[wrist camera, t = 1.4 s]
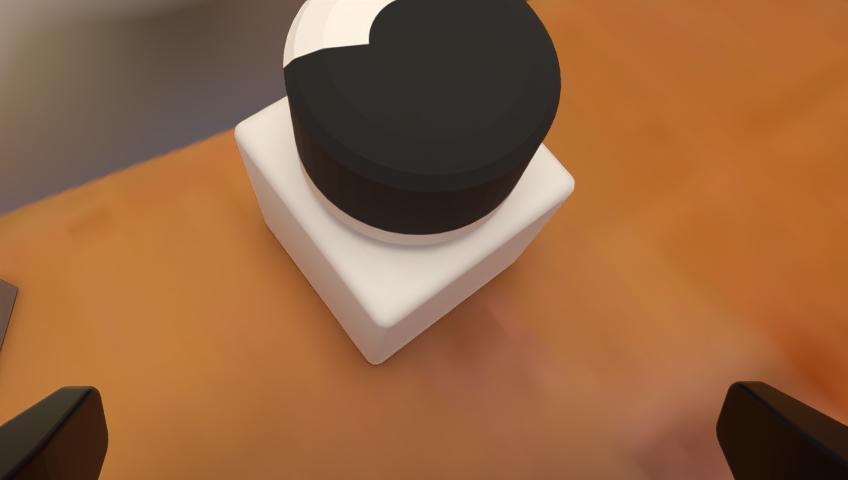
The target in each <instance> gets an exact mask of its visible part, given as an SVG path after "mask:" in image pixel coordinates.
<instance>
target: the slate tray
mask: <svg viewBox="0 0 848 480" xmlns="http://www.w3.org/2000/svg"><path fill="white" fill-rule="evenodd" d="M17 290H18V288H16V287H14V286H13V285H11V284H9V283H7V282H5V281H3V280H1V279H0V349H1V346H2V342H3V339H4V336H5V332H6V329H7V325H8V322H9V318H10V315H11V311H12V308H13V304H14V301H15V297H16V294H17Z"/></svg>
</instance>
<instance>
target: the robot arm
mask: <svg viewBox="0 0 848 480" xmlns="http://www.w3.org/2000/svg"><path fill="white" fill-rule="evenodd" d="M716 433H717V438H718V441H719V444H720V446H721V449H722V451H723V453H724V456H725V458H726V460H727V463H728V465H729V467H730V470H731V472H732V474H733V477H734V479H735V480H848V426H846V425H844V424H842V423H840V422H838V421H836V420H834V419H833V418H831V417H829V416H827V415H825V414H823V413H821V412H819V411H817V410H815V409H814V408H812V407H810V406H808V405H806V404H804V403H802V402H800V401H798V400H796V399H794V398H793V397H791V396H789V395H787V394H785V393H783V392H781V391H779V390H777V389H775V388H774V387H772V386H770V385H768V384H766V383H764V382H760V381H738V382H735V383H733V384H732V385H731V386H730V387H729V389H728V392H727V395H726V398H725V401H724V403H723V406H722V409H721V412H720V415H719V418H718V421H717V426H716ZM107 447H108V430H107V425H106V420H105V415H104V410H103V405H102V400H101V396H100V393H99V391H98V389H96V388H95V387H92V386H68V387H63V388H60V389H59V390H57V391H55V392H54V393H52V394H50V395H49V396H47V397H46V398H44V399H43V400H41V401H39V402H38V403H36V404H35V405H33V406H32V407H30V408H28V409H27V410H25V411H24V412H22V413H20V414H19V415H17V416H16V417H14V418H13V419H11V420H9V421H8V422H6V423H5V424H3V425H2V426H0V480H98V478H99V475H100V472H101V468H102V465H103V462H104V459H105V456H106V452H107Z"/></svg>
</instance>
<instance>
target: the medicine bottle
mask: <svg viewBox="0 0 848 480" xmlns="http://www.w3.org/2000/svg"><path fill="white" fill-rule="evenodd" d="M283 69H284V76H285V85H286V91H287V96H286V97H284V98H283V99H281V100H279V101H277V102H276V103H274V104H272V105H270V106H268V107H267V108H265V109H263V110H261V111H260V112H258V113H256V114H254V115H253V116H251V117H249V118H247V119H246V120H244V121H242V122H240V123H239V124H238V125H237V126H236V129H235V133H234V136H235V139H236V142H237V145H238V147H239V150H240V153H241V156H242V159H243V161H244V164H245V167H246V170H247V173H248V175H249V178H250V181H251V184H252V187H253V189H254V192H255V195H256V198H257V201H258V203H259V206H260V209H261V212H262V215H263V218H264V220H265V223H266V225H267V226H268V228H269V229H270V230H271V232H272V233H273V234H274V236H275V237H276V238H277V240H278V241H279V242H280V244H281V245H282V247H283V248H284V249H285V251H286V252H287V253H288V255H289V256H290V257H291V259H292V260H293V261H294V263H295V264H296V265H297V267H298V268H299V269H300V271H301V272H302V274H303V275H304V276H305V278H306V279H307V280H308V282H309V283H310V284H311V286H312V287H313V288H314V290H315V291H316V292H317V294H318V295H319V297H320V298H321V299H322V301H323V302H324V303H325V305H326V306H327V307H328V309H329V310H330V311H331V313H332V314H333V315H334V317H335V318H336V319H337V321H338V322H339V324H340V325H341V326H342V328H343V329H344V330H345V332H346V333H347V334H348V336H349V337H350V338H351V340H352V341H353V342H354V344H355V345H356V347H357V348H358V349H359V351H360V352H361V353H362V355H363V356H364V357H365V359H366V360H367V361H368V362H369V363H370V364H374V365H378V364H380V363H382V362H384V361H385V360H386V359H388V358H389V357H390V356H392V355H393V354H394V353H395V352H397V351H398V350H399V349H401V348H402V347H403V346H405V345H406V344H407V343H409V342H410V341H411V340H413V339H414V338H415V337H417V336H418V335H419V334H421V333H422V332H423V331H424V330H426V329H427V328H428V327H430V326H431V325H432V324H434V323H435V322H436V321H438V320H439V319H440V318H442V317H443V316H444V315H446V314H447V313H448V312H449V311H451V310H452V309H453V308H455V307H456V306H457V305H459V304H460V303H461V302H463V301H464V300H465V299H467V298H468V297H469V296H471V295H472V294H473V293H475V292H476V291H477V290H478V289H480V288H481V287H482V286H484V285H485V284H486V283H488V282H489V281H490V280H492V279H493V278H494V277H496V276H497V275H498V274H500V273H501V272H502V271H503V270H505V269H506V268H507V267H509V266H510V265H511V264H513V263H514V262H515V261H516V260H517V259H518V257H519V256H520V255H521V254H522V253H523V251H524V250H525V249H526V248H527V247H528V245H529V244H530V243H531V242H532V240H533V239H534V238H535V237H536V236H537V234H538V233H539V232H540V231H541V229H542V228H543V227H544V226H545V225H546V223H547V222H548V221H549V220H550V219H551V217H552V216H553V215H554V214H555V212H556V211H557V210H558V209H559V208H560V206H561V205H562V204H563V203H564V202H565V200H566V199H567V198H568V197H569V195H570V194H571V193H572V192H573V190H574V183H575V181H574V179H573V177H572V176H571V175H570V173H569V172H568V171H567V170H566V169H565V168H564V167H563V166H562V164H561V163H560V162H559V161H558V160H557V159H556V158H555V157H554V155H553V154H552V153H551V152H550V151H549V150H548V149H547V148H546V147H545V145H544V144H543V143H542V141H543V140H544V138H545V136H546V135H547V133H548V131H549V129H550V127H551V125H552V123H553V120H554V118H555V115H556V112H557V108H558V105H559V99H560V90H561V77H560V67H559V62H558V57H557V53H556V51H555V48H554V45H553V42H552V40H551V38H550V36H549V34H548V32H547V30H546V28H545V26H544V25H543V23H542V22H541V20H540V19H539V18H538V16H537V15H536V13H535V12H534V11H533V9H532V8H531V7H530V6H529V5H528V4H527V2H526V1H525V0H307V1H306V2H305V3H304V5H303V6H302V7H301V9H300V11H299V12H298V14H297V16H296V17H295V19H294V21H293V23H292V26H291V28H290V31H289V33H288V36H287V41H286V46H285V50H284V67H283Z"/></svg>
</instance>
